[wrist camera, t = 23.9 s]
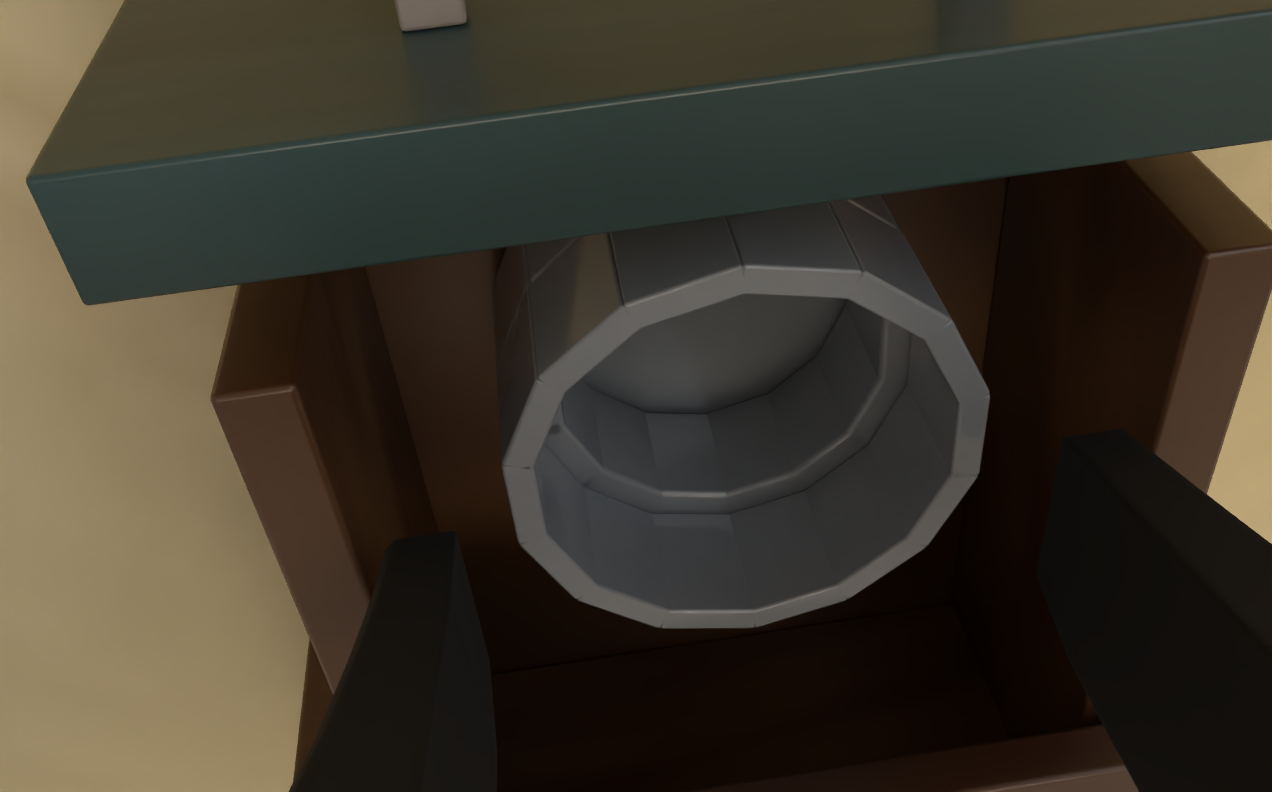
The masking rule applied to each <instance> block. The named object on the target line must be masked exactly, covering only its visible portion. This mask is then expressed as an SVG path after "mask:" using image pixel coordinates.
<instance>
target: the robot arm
mask: <svg viewBox="0 0 1272 792" xmlns="http://www.w3.org/2000/svg"><path fill="white" fill-rule="evenodd" d="M1036 574H1037V577H1038V580H1039V583H1040V585H1041V588H1042V591H1043V594H1044V596H1045V599H1046V602H1047V604H1048V607H1049V610H1050V613H1051V615H1052V618H1053V621H1054V623H1055V626H1056V628H1057V631H1058V634H1059V636H1060V639H1061V641H1062V644H1063V646H1064V649H1065V651H1066V654H1067V656H1068V659H1069V661H1070V663H1071V665H1072V667H1073V669H1074V671H1075V673H1076V675H1077V677H1078V679H1079V681H1080V683H1081V685H1082V686H1083V688H1084V690H1085V692H1086V694H1087V696H1088V698H1089V700H1090V702H1091V703H1092V705H1093V707H1094V709H1095V711H1096V713H1097V715H1098V717H1099V718H1100V720H1101V722H1102V724H1103V726H1104V728H1105V730H1106V732H1107V734H1108V735H1109V737H1110V739H1111V741H1112V743H1113V745H1114V746H1115V748H1116V750H1117V752H1118V754H1119V756H1120V758H1121V759H1122V761H1123V763H1124V765H1125V767H1126V769H1127V770H1128V772H1129V774H1130V776H1131V778H1132V780H1133V782H1134V783H1135V785H1136V787H1137V789H1138V791H1139V792H1272V544H1271V543H1269V542H1268V541H1267V540H1265V539H1264V538H1263V537H1261V536H1260V535H1259V534H1257V533H1256V532H1255V531H1254V530H1252V529H1251V528H1250V527H1248V526H1247V525H1246V524H1244V523H1243V522H1242V521H1240V520H1239V519H1238V518H1236V517H1235V516H1234V515H1233V514H1231V513H1230V512H1229V511H1227V510H1226V509H1225V508H1224V507H1222V506H1221V505H1220V504H1218V503H1217V502H1216V501H1214V500H1213V499H1212V498H1211V497H1209V496H1208V495H1207V494H1205V493H1204V492H1203V491H1202V490H1200V489H1199V488H1198V487H1196V486H1195V485H1194V484H1193V483H1191V482H1190V481H1189V480H1188V479H1186V478H1185V477H1184V476H1182V475H1181V474H1180V473H1179V472H1177V471H1176V470H1175V469H1174V468H1172V467H1171V466H1170V465H1168V464H1167V463H1166V462H1165V461H1163V460H1162V459H1161V458H1159V457H1158V456H1157V455H1156V454H1154V453H1153V452H1152V451H1151V450H1149V449H1148V448H1147V447H1145V446H1144V445H1143V444H1141V443H1140V442H1139V441H1138V440H1136V439H1135V438H1134V437H1132V436H1131V435H1130V434H1128V433H1127V432H1126V431H1124V430H1123V429H1122V428H1121V429H1115V430H1108V431H1102V432H1095V433H1089V434H1082V435H1075V436H1069V437H1063V439H1062V445H1061V450H1060V455H1059V460H1058V465H1057V470H1056V475H1055V480H1054V485H1053V490H1052V495H1051V500H1050V505H1049V510H1048V515H1047V520H1046V526H1045V531H1044V536H1043V541H1042V546H1041V551H1040V556H1039V561H1038V566H1037V571H1036ZM289 792H497V744H496V731H495V717H494V705H493V693H492V681H491V669H490V659H489V655H488V651H487V648H486V644H485V640H484V636H483V632H482V629H481V625H480V621H479V617H478V614H477V610H476V606H475V602H474V598H473V595H472V591H471V587H470V583H469V580H468V576H467V572H466V568H465V564H464V561H463V557H462V553H461V549H460V546H459V542H458V538H457V534H456V530H454V531H448V532H441V533H435V534H428V535H422V536H415V537H409V538H402V539H396V540H394V541H393V542H392V543H391V544H390V545H389V546H388V547H387V548H386V549H385V553H384V556H383V560H382V563H381V567H380V571H379V574H378V577H377V580H376V583H375V587H374V590H373V593H372V596H371V599H370V602H369V605H368V608H367V611H366V614H365V616H364V619H363V622H362V625H361V627H360V630H359V633H358V635H357V638H356V641H355V643H354V646H353V649H352V651H351V654H350V656H349V659H348V662H347V664H346V667H345V669H344V671H343V674H342V676H341V678H340V681H339V683H338V685H337V688H336V690H335V693H334V695H333V697H332V700H331V702H330V704H329V707H328V709H327V711H326V714H325V716H324V719H323V721H322V723H321V726H320V728H319V730H318V732H317V735H316V737H315V739H314V741H313V743H312V745H311V748H310V750H309V752H308V754H307V756H306V758H305V760H304V762H303V764H302V766H301V768H300V770H299V772H298V774H297V776H296V778H295V780H294V782H293V784H292V786H291V788H290V790H289Z"/></svg>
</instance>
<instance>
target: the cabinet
mask: <svg viewBox="0 0 1272 792" xmlns="http://www.w3.org/2000/svg"><path fill="white" fill-rule="evenodd" d="M332 697H333V693H332V691H331V689H330V686H329V684H328V681H327V679H326V677H325V674H324V672H323V669H322V667H321V664H320V662H319V660H318V657H317V655H316V652H315V650H314V648H313V645H312V643H311V640H310V638H309V646H308V655H307V664H306V673H305V682H304V691H303V699H302V708H301V717H300V726H299V735H298V744H297V753H296V762H295V770H294V779H293V782H294V780H295V778H296V776H297V774H298V772H299V770H300V768H301V766H302V764H303V762H304V760H305V758H306V756H307V754H308V752H309V750H310V748H311V745H312V743H313V741H314V739H315V737H316V735H317V732H318V730H319V728H320V726H321V723H322V721H323V719H324V716H325V714H326V711H327V709H328V707H329V704H330V702H331V700H332ZM677 792H1139V791H1138V789H1137V787H1136V785H1135V783H1134V782H1133V780H1132V778H1131V776H1130V774H1129V772H1128V770H1127V769H1126V767H1125V765H1124V763H1123V761H1122V759H1121V758H1120V756H1119V754H1118V752H1117V750H1116V748H1115V746H1114V745H1113V743H1112V741H1111V739H1110V737H1109V735H1108V734H1107V732H1106V730H1105V728H1104V726H1103V724H1098V725H1092V726H1085V727H1079V728H1073V729H1067V730H1060V731H1054V732H1048V733H1041V734H1035V735H1029V736H1023V737H1016V738H1010V739H1004V740H997V741H991V742H985V743H979V744H972V745H966V746H960V747H953V748H947V749H941V750H935V751H928V752H922V753H916V754H910V755H903V756H897V757H891V758H884V759H878V760H872V761H866V762H859V763H853V764H847V765H840V766H834V767H828V768H822V769H815V770H809V771H803V772H797V773H790V774H784V775H778V776H771V777H765V778H759V779H753V780H746V781H740V782H734V783H727V784H721V785H715V786H709V787H702V788H696V789H690V790H683V791H677Z"/></svg>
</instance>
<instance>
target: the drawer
mask: <svg viewBox="0 0 1272 792" xmlns="http://www.w3.org/2000/svg"><path fill="white" fill-rule="evenodd" d="M1270 140H1272V0H125V1H124V3H123V5H122V6H121V8H120V10H119V12H118V14H117V15H116V17H115V19H114V21H113V23H112V24H111V26H110V28H109V30H108V32H107V33H106V35H105V37H104V39H103V41H102V42H101V44H100V46H99V48H98V50H97V51H96V53H95V55H94V57H93V59H92V60H91V62H90V64H89V66H88V68H87V69H86V71H85V73H84V75H83V77H82V78H81V80H80V82H79V84H78V86H77V87H76V89H75V91H74V93H73V95H72V96H71V98H70V100H69V102H68V104H67V105H66V107H65V109H64V111H63V112H62V114H61V116H60V118H59V120H58V121H57V123H56V125H55V127H54V129H53V130H52V132H51V134H50V136H49V138H48V139H47V141H46V143H45V145H44V147H43V148H42V150H41V152H40V154H39V156H38V157H37V159H36V161H35V163H34V165H33V166H32V168H31V170H30V172H29V174H28V175H27V177H26V183H27V185H28V187H29V190H30V192H31V194H32V196H33V198H34V200H35V202H36V204H37V206H38V209H39V211H40V213H41V215H42V217H43V219H44V221H45V223H46V225H47V228H48V230H49V232H50V234H51V236H52V238H53V240H54V242H55V244H56V247H57V249H58V251H59V253H60V255H61V257H62V259H63V261H64V263H65V266H66V268H67V270H68V272H69V274H70V276H71V278H72V280H73V282H74V285H75V287H76V289H77V291H78V293H79V295H80V297H81V299H82V301H83V303H84V304H85V305H95V304H102V303H109V302H117V301H124V300H131V299H138V298H145V297H152V296H160V295H167V294H174V293H181V292H188V291H195V290H203V289H210V288H217V287H224V286H231V285H238V286H237V290H236V294H235V298H234V302H233V307H232V311H231V315H230V319H229V323H228V327H227V331H226V335H225V340H224V344H223V348H222V352H221V356H220V360H219V364H218V368H217V373H216V377H215V381H214V385H213V389H212V393H211V402H212V404H213V407H214V409H215V412H216V414H217V417H218V419H219V421H220V424H221V426H222V429H223V431H224V433H225V436H226V438H227V441H228V443H229V445H230V448H231V450H232V453H233V455H234V457H235V460H236V462H237V465H238V467H239V469H240V472H241V474H242V477H243V479H244V482H245V484H246V486H247V489H248V491H249V494H250V496H251V498H252V501H253V503H254V506H255V508H256V510H257V513H258V515H259V518H260V520H261V522H262V525H263V527H264V530H265V532H266V534H267V537H268V539H269V542H270V544H271V547H272V549H273V551H274V554H275V556H276V559H277V561H278V563H279V566H280V568H281V571H282V573H283V575H284V578H285V580H286V583H287V585H288V587H289V590H290V592H291V595H292V597H293V599H294V602H295V604H296V607H297V609H298V612H299V614H300V616H301V619H302V621H303V624H304V626H305V628H306V631H307V633H308V636H309V638H310V640H311V643H312V645H313V648H314V650H315V652H316V655H317V657H318V660H319V662H320V664H321V667H322V669H323V672H324V674H325V677H326V679H327V681H328V684H329V686H330V689H331V691H332V693H333V695H334V693H335V690H336V688H337V685H338V683H339V681H340V678H341V676H342V674H343V671H344V669H345V667H346V664H347V662H348V659H349V656H350V654H351V651H352V649H353V646H354V643H355V641H356V638H357V635H358V633H359V630H360V627H361V625H362V622H363V619H364V616H365V614H366V611H367V608H368V605H369V602H370V599H371V596H372V593H373V590H374V587H375V583H376V580H377V577H378V574H379V571H380V567H381V563H382V560H383V556H384V553H385V549H386V548H387V547H388V546H389V545H390V544H391V543H392V542H393V541H394V540H396V539H402V538H409V537H415V536H422V535H428V534H435V533H441V532H448V531H454V530H456V534H457V538H458V542H459V546H460V549H461V553H462V557H463V561H464V564H465V568H466V572H467V576H468V580H469V583H470V587H471V591H472V595H473V598H474V602H475V606H476V610H477V614H478V617H479V621H480V625H481V629H482V632H483V636H484V640H485V644H486V648H487V651H488V655H489V659H490V669H491V681H492V693H493V705H494V717H495V731H496V744H497V792H677V791H683V790H690V789H696V788H702V787H709V786H715V785H721V784H727V783H734V782H740V781H746V780H753V779H759V778H765V777H771V776H778V775H784V774H790V773H797V772H803V771H809V770H815V769H822V768H828V767H834V766H840V765H847V764H853V763H859V762H866V761H872V760H878V759H884V758H891V757H897V756H903V755H910V754H916V753H922V752H928V751H935V750H941V749H947V748H953V747H960V746H966V745H972V744H979V743H985V742H991V741H997V740H1004V739H1010V738H1016V737H1023V736H1029V735H1035V734H1041V733H1048V732H1054V731H1060V730H1067V729H1073V728H1079V727H1085V726H1092V725H1098V724H1102V722H1101V720H1100V718H1099V717H1098V715H1097V713H1096V711H1095V709H1094V707H1093V705H1092V703H1091V702H1090V700H1089V698H1088V696H1087V694H1086V692H1085V690H1084V688H1083V686H1082V685H1081V683H1080V681H1079V679H1078V677H1077V675H1076V673H1075V671H1074V669H1073V667H1072V665H1071V663H1070V661H1069V659H1068V656H1067V654H1066V651H1065V649H1064V646H1063V644H1062V641H1061V639H1060V636H1059V634H1058V631H1057V628H1056V626H1055V623H1054V621H1053V618H1052V615H1051V613H1050V610H1049V607H1048V604H1047V602H1046V599H1045V596H1044V594H1043V591H1042V588H1041V585H1040V583H1039V580H1038V577H1037V574H1036V571H1037V566H1038V561H1039V556H1040V551H1041V546H1042V541H1043V536H1044V531H1045V526H1046V520H1047V515H1048V510H1049V505H1050V500H1051V495H1052V490H1053V485H1054V480H1055V475H1056V470H1057V465H1058V460H1059V455H1060V450H1061V445H1062V439H1063V437H1069V436H1075V435H1082V434H1089V433H1095V432H1102V431H1108V430H1115V429H1121V428H1122V429H1123V430H1124V431H1126V432H1127V433H1128V434H1130V435H1131V436H1132V437H1134V438H1135V439H1136V440H1138V441H1139V442H1140V443H1141V444H1143V445H1144V446H1145V447H1147V448H1148V449H1149V450H1151V451H1152V452H1153V453H1154V454H1156V455H1157V456H1158V457H1159V458H1161V459H1162V460H1163V461H1165V462H1166V463H1167V464H1168V465H1170V466H1171V467H1172V468H1174V469H1175V470H1176V471H1177V472H1179V473H1180V474H1181V475H1182V476H1184V477H1185V478H1186V479H1188V480H1189V481H1190V482H1191V483H1193V484H1194V485H1195V486H1196V487H1198V488H1199V489H1200V490H1202V491H1203V492H1204V493H1205V494H1207V492H1208V488H1209V485H1210V482H1211V479H1212V476H1213V473H1214V470H1215V466H1216V463H1217V460H1218V457H1219V454H1220V451H1221V448H1222V444H1223V441H1224V438H1225V435H1226V432H1227V429H1228V426H1229V422H1230V419H1231V416H1232V413H1233V410H1234V407H1235V403H1236V400H1237V397H1238V394H1239V391H1240V388H1241V385H1242V381H1243V378H1244V375H1245V372H1246V369H1247V366H1248V363H1249V359H1250V356H1251V353H1252V350H1253V347H1254V344H1255V341H1256V337H1257V334H1258V331H1259V328H1260V325H1261V322H1262V318H1263V315H1264V312H1265V309H1266V306H1267V303H1268V300H1269V296H1270V293H1271V290H1272V230H1271V229H1270V228H1269V227H1268V226H1267V225H1266V224H1265V223H1264V222H1263V221H1262V220H1261V219H1260V218H1259V217H1258V216H1257V215H1256V214H1255V213H1254V212H1253V211H1252V210H1251V209H1250V208H1249V207H1248V206H1246V205H1245V204H1244V203H1243V202H1242V201H1241V200H1240V199H1239V198H1238V197H1237V196H1236V195H1235V194H1234V193H1233V192H1232V191H1231V190H1230V189H1229V188H1228V187H1227V186H1226V185H1225V184H1224V183H1223V182H1222V181H1221V180H1220V179H1219V178H1218V177H1217V176H1216V175H1215V174H1214V173H1213V172H1212V171H1211V170H1210V169H1209V168H1208V167H1207V166H1206V165H1205V164H1204V163H1203V162H1202V161H1200V160H1199V159H1198V158H1197V157H1196V156H1195V155H1194V154H1193V153H1192V152H1191V151H1198V150H1205V149H1212V148H1219V147H1227V146H1234V145H1241V144H1248V143H1255V142H1262V141H1270ZM876 195H882V196H883V197H884V199H885V201H886V203H887V204H888V206H889V208H890V210H891V212H892V213H893V215H894V217H895V219H896V220H897V222H898V224H899V226H900V228H901V229H902V231H903V233H904V235H905V236H906V238H907V240H908V241H909V243H910V245H911V247H912V248H913V250H914V252H915V254H916V255H917V257H918V259H919V261H920V263H921V264H922V266H923V268H924V270H925V271H926V273H927V275H928V277H929V279H930V280H931V282H932V284H933V286H934V287H935V289H936V291H937V293H938V294H939V296H940V298H941V300H942V302H943V303H944V305H945V307H946V309H947V310H948V312H949V314H950V316H951V318H952V319H953V321H954V323H955V325H956V327H957V329H958V331H959V333H960V335H961V336H962V338H963V340H964V342H965V344H966V346H967V348H968V350H969V352H970V354H971V356H972V358H973V359H974V361H975V363H976V365H977V367H978V369H979V371H980V373H981V375H982V377H983V379H984V381H985V382H986V384H987V386H988V388H989V394H990V402H989V409H988V416H987V423H986V430H985V437H984V444H983V451H982V458H981V465H980V472H979V474H978V477H977V479H976V480H975V482H974V483H973V484H972V486H971V487H970V489H969V490H968V491H967V493H966V494H965V495H964V497H963V498H962V500H961V501H960V502H959V504H958V505H957V507H956V508H955V509H954V511H953V512H952V513H951V515H950V516H949V518H948V519H947V520H946V522H945V523H944V524H943V526H942V527H941V529H940V530H939V531H938V533H937V534H936V536H935V537H934V538H933V540H932V541H931V542H930V544H929V545H928V546H926V547H925V549H923V550H922V551H920V552H919V553H917V554H916V555H914V556H913V557H911V558H910V559H908V560H907V561H905V562H904V563H902V564H901V565H899V566H898V567H896V568H895V569H893V570H892V571H890V572H889V573H887V574H886V575H884V576H883V577H881V578H880V579H878V580H877V581H875V582H874V583H872V584H871V585H869V586H868V587H866V588H865V589H863V590H862V591H860V592H859V593H857V594H856V595H854V596H853V597H851V598H849V599H848V598H847V600H845V601H843V602H839V603H836V604H833V605H829V606H826V607H823V608H819V609H816V610H813V611H809V612H806V613H803V614H800V615H796V616H793V617H790V618H786V619H783V620H780V621H776V622H773V623H770V624H767V625H763V626H760V627H755V626H754V627H753V628H699V629H662V628H661V627H659V628H656V627H653V626H650V625H647V624H644V623H641V622H638V621H635V620H633V619H630V618H627V617H624V616H621V615H618V614H615V613H612V612H609V611H606V610H603V609H600V608H597V607H594V606H591V605H588V604H585V603H583V602H580V601H578V600H577V599H574V598H573V597H572V596H571V595H570V594H569V593H568V592H567V591H566V590H565V589H564V588H563V587H562V586H561V585H560V584H559V583H558V582H557V581H556V580H555V579H554V578H553V577H552V576H551V575H550V574H549V573H548V572H547V571H546V570H545V569H544V568H543V567H542V566H540V565H539V564H538V563H537V562H536V561H535V560H534V559H533V558H532V557H531V556H530V555H529V554H528V553H527V552H526V551H525V550H524V549H523V548H522V547H521V546H520V544H519V542H518V541H517V538H516V533H515V529H514V524H513V520H512V515H511V510H510V506H509V501H508V497H507V492H506V487H505V483H504V478H503V474H502V469H501V455H500V436H499V417H498V398H497V379H496V373H497V370H496V353H495V334H494V315H493V296H492V294H493V291H494V289H493V284H494V282H495V279H496V276H497V273H498V270H499V268H500V265H501V262H502V259H503V256H504V253H505V251H506V248H507V247H510V246H518V245H525V244H532V243H539V242H546V241H553V240H561V239H568V238H575V237H582V236H589V235H596V234H604V233H611V232H618V231H625V230H632V229H639V228H647V227H654V226H661V225H668V224H675V223H682V222H690V221H697V220H704V219H711V218H718V217H725V216H732V215H740V214H747V213H754V212H761V211H768V210H775V209H783V208H790V207H797V206H804V205H811V204H818V203H826V202H833V201H840V200H847V199H854V198H861V197H869V196H876Z"/></svg>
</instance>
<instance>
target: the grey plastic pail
mask: <svg viewBox="0 0 1272 792" xmlns="http://www.w3.org/2000/svg"><path fill="white" fill-rule="evenodd" d="M493 289H494V291H493V294H492V296H493V315H494V334H495V353H496V370H497V373H496V379H497V398H498V417H499V436H500V455H501V469H502V474H503V478H504V483H505V487H506V492H507V497H508V501H509V506H510V510H511V515H512V520H513V524H514V529H515V533H516V538H517V541H518V542H519V544H520V546H521V547H522V548H523V549H524V550H525V551H526V552H527V553H528V554H529V555H530V556H531V557H532V558H533V559H534V560H535V561H536V562H537V563H538V564H539V565H540V566H542V567H543V568H544V569H545V570H546V571H547V572H548V573H549V574H550V575H551V576H552V577H553V578H554V579H555V580H556V581H557V582H558V583H559V584H560V585H561V586H562V587H563V588H564V589H565V590H566V591H567V592H568V593H569V594H570V595H571V596H572V597H573V598H574V599H577V600H578V601H580V602H583V603H585V604H588V605H591V606H594V607H597V608H600V609H603V610H606V611H609V612H612V613H615V614H618V615H621V616H624V617H627V618H630V619H633V620H635V621H638V622H641V623H644V624H647V625H650V626H653V627H656V628H659V627H661V628H662V629H699V628H753V627H754V626H755V627H760V626H763V625H767V624H770V623H773V622H776V621H780V620H783V619H786V618H790V617H793V616H796V615H800V614H803V613H806V612H809V611H813V610H816V609H819V608H823V607H826V606H829V605H833V604H836V603H839V602H843V601H845V600H847V598H848V599H849V598H851V597H853V596H854V595H856V594H857V593H859V592H860V591H862V590H863V589H865V588H866V587H868V586H869V585H871V584H872V583H874V582H875V581H877V580H878V579H880V578H881V577H883V576H884V575H886V574H887V573H889V572H890V571H892V570H893V569H895V568H896V567H898V566H899V565H901V564H902V563H904V562H905V561H907V560H908V559H910V558H911V557H913V556H914V555H916V554H917V553H919V552H920V551H922V550H923V549H925V547H926V546H928V545H929V544H930V542H931V541H932V540H933V538H934V537H935V536H936V534H937V533H938V531H939V530H940V529H941V527H942V526H943V524H944V523H945V522H946V520H947V519H948V518H949V516H950V515H951V513H952V512H953V511H954V509H955V508H956V507H957V505H958V504H959V502H960V501H961V500H962V498H963V497H964V495H965V494H966V493H967V491H968V490H969V489H970V487H971V486H972V484H973V483H974V482H975V480H976V479H977V477H978V474H979V472H980V465H981V458H982V451H983V444H984V437H985V430H986V423H987V416H988V409H989V402H990V394H989V388H988V386H987V384H986V382H985V381H984V379H983V377H982V375H981V373H980V371H979V369H978V367H977V365H976V363H975V361H974V359H973V358H972V356H971V354H970V352H969V350H968V348H967V346H966V344H965V342H964V340H963V338H962V336H961V335H960V333H959V331H958V329H957V327H956V325H955V323H954V321H953V319H952V318H951V316H950V314H949V312H948V310H947V309H946V307H945V305H944V303H943V302H942V300H941V298H940V296H939V294H938V293H937V291H936V289H935V287H934V286H933V284H932V282H931V280H930V279H929V277H928V275H927V273H926V271H925V270H924V268H923V266H922V264H921V263H920V261H919V259H918V257H917V255H916V254H915V252H914V250H913V248H912V247H911V245H910V243H909V241H908V240H907V238H906V236H905V235H904V233H903V231H902V229H901V228H900V226H899V224H898V222H897V220H896V219H895V217H894V215H893V213H892V212H891V210H890V208H889V206H888V204H887V203H886V201H885V199H884V197H883V196H882V195H876V196H869V197H861V198H854V199H847V200H840V201H833V202H826V203H818V204H811V205H804V206H797V207H790V208H783V209H775V210H768V211H761V212H754V213H747V214H740V215H732V216H725V217H718V218H711V219H704V220H697V221H690V222H682V223H675V224H668V225H661V226H654V227H647V228H639V229H632V230H625V231H618V232H611V233H604V234H596V235H589V236H582V237H575V238H568V239H561V240H553V241H546V242H539V243H532V244H525V245H518V246H510V247H507V248H506V251H505V253H504V256H503V259H502V262H501V265H500V268H499V270H498V273H497V276H496V279H495V282H494V284H493Z"/></svg>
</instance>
